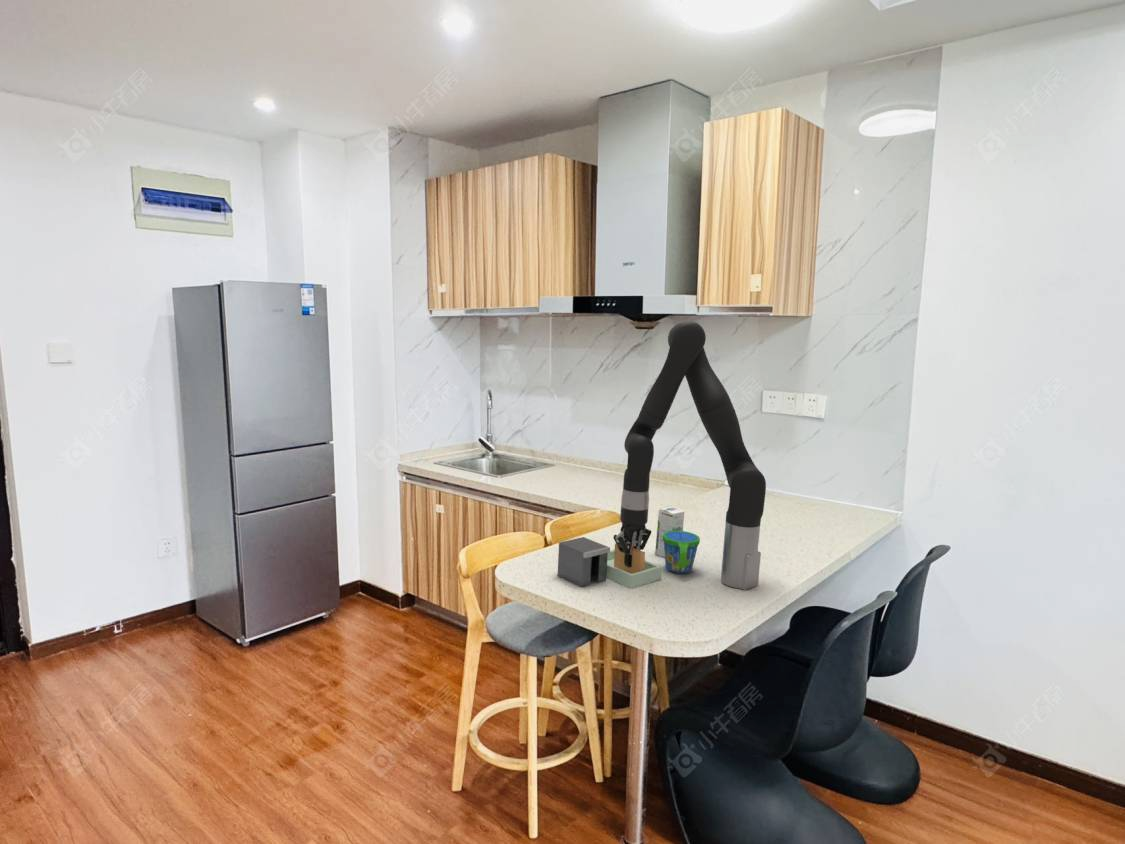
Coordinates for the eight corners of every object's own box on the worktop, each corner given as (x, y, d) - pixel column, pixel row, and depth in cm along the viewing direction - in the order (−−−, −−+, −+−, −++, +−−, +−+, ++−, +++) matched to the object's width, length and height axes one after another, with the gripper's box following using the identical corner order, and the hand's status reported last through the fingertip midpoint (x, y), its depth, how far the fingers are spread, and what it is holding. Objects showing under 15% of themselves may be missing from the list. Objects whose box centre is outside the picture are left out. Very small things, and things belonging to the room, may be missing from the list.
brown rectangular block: (643, 576, 183) (644, 552, 182) (639, 578, 182) (640, 553, 181) (617, 566, 191) (618, 542, 190) (613, 567, 190) (614, 543, 189)
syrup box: (665, 550, 209) (669, 505, 207) (681, 556, 205) (684, 510, 203) (654, 554, 205) (657, 508, 203) (670, 559, 201) (673, 513, 199)
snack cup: (698, 581, 185) (700, 546, 183) (659, 577, 187) (662, 542, 185) (696, 562, 200) (699, 529, 199) (661, 558, 202) (663, 526, 200)
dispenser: (608, 581, 182) (610, 547, 181) (583, 588, 176) (585, 553, 175) (581, 569, 190) (583, 536, 189) (557, 575, 184) (559, 542, 183)
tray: (661, 579, 185) (661, 566, 185) (631, 588, 178) (631, 575, 177) (615, 560, 199) (615, 548, 198) (585, 568, 191) (586, 556, 191)
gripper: (627, 512, 176) (623, 575, 178) (661, 505, 185) (657, 565, 187) (607, 505, 182) (603, 566, 184) (641, 499, 190) (637, 557, 193)
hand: (630, 565), depth 186 cm, fingers closed on brown rectangular block, 1 cm apart
